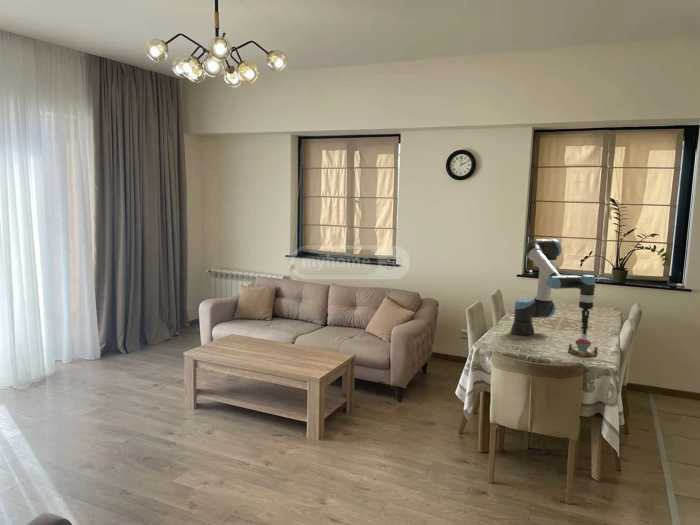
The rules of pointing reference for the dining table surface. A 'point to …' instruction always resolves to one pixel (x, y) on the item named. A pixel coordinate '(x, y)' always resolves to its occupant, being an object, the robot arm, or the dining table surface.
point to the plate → (583, 354)
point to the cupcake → (583, 344)
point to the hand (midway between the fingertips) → (583, 336)
